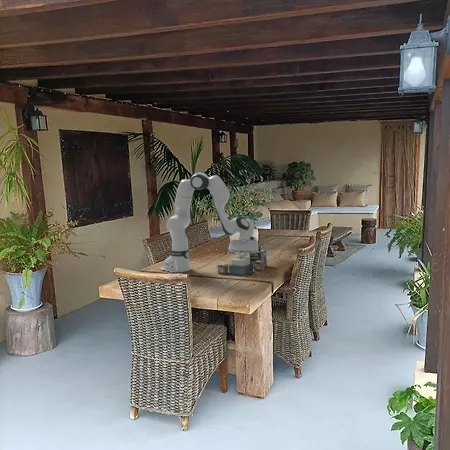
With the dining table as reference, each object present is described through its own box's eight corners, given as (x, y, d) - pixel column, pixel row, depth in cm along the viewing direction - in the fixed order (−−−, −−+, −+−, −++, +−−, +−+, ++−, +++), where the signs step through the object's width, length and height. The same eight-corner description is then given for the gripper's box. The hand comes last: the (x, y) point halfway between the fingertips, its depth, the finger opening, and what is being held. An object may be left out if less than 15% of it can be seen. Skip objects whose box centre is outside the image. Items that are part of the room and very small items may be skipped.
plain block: (232, 271, 291) (231, 259, 290) (238, 268, 298) (238, 256, 297) (244, 272, 286) (243, 260, 285) (250, 269, 294) (249, 257, 293)
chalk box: (267, 265, 310) (266, 245, 308) (261, 268, 302) (260, 247, 300) (255, 264, 314) (254, 244, 312) (249, 267, 307) (248, 246, 305)
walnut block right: (254, 271, 297) (253, 261, 296) (257, 269, 301) (257, 260, 300) (260, 271, 294) (260, 262, 293) (264, 269, 299) (263, 260, 298)
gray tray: (229, 274, 291) (228, 265, 290) (237, 270, 301) (237, 261, 300) (245, 276, 285) (244, 267, 284) (253, 271, 295) (252, 263, 294)
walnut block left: (217, 274, 293) (217, 264, 292) (222, 272, 297) (221, 263, 296) (224, 274, 290) (224, 265, 289) (228, 272, 295) (228, 263, 294)
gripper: (229, 237, 300) (225, 254, 293) (258, 237, 293) (254, 255, 286) (231, 242, 305) (227, 259, 297) (260, 243, 298) (256, 260, 290)
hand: (241, 257), depth 291 cm, fingers closed, pressing on plain block
